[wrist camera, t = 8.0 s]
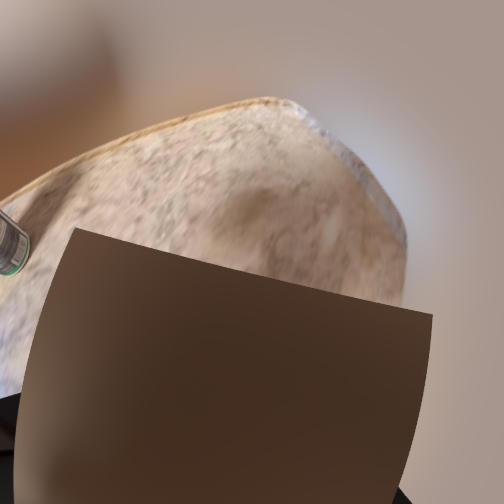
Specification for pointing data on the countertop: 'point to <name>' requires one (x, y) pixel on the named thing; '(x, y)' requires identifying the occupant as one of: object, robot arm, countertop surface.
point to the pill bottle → (12, 246)
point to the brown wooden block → (212, 386)
